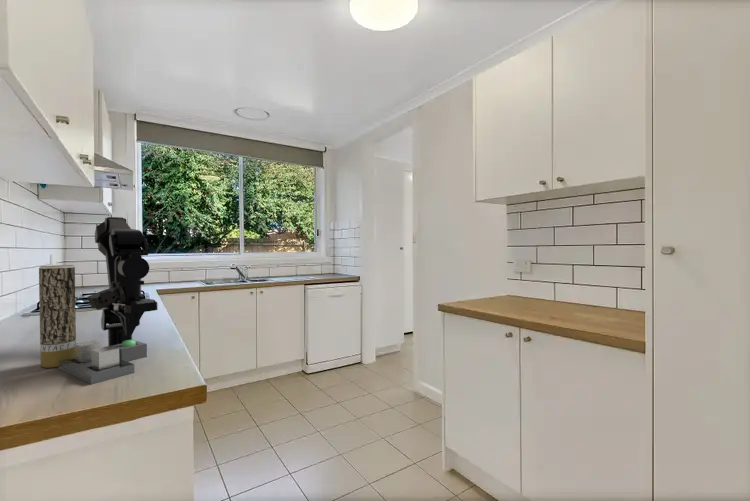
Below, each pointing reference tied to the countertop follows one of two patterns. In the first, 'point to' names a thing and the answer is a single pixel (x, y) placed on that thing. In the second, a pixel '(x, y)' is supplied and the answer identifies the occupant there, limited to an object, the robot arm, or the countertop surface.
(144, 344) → the grey hollow square block
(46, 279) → the paper tube
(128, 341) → the button
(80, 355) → the block
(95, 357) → the block
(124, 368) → the rectangular frame
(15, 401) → the countertop surface
